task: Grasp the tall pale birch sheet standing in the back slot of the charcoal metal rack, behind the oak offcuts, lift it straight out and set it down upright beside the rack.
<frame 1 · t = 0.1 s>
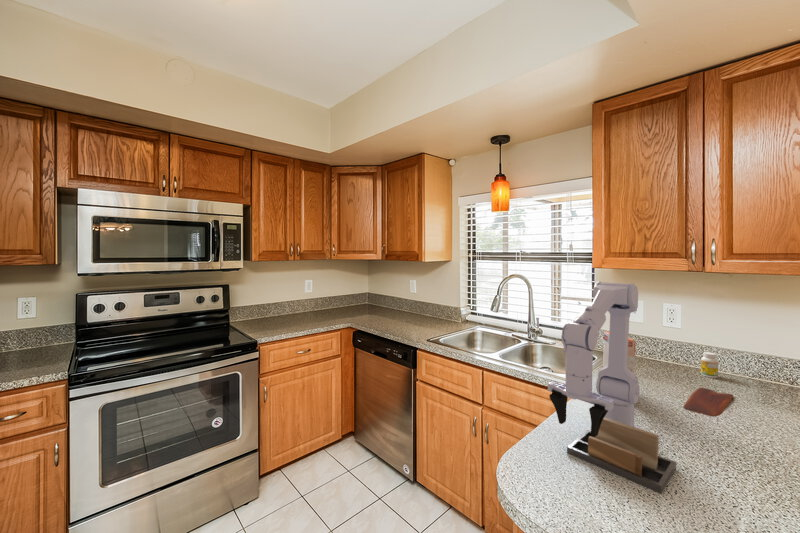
hand: (577, 428, 83), 10 cm above the worktop, tool pointing down, fingers open, 7 cm apart
oak offcuts: (614, 466, 84), point 1 cm above the worktop, touching rack
supplement bottle: (709, 376, 145), on the worktop
rack: (619, 462, 86), on the worktop
reddish brown cloth: (707, 403, 120), on the worktop
birch sheet: (623, 455, 88), point 1 cm above the worktop, touching rack
cracker box: (617, 390, 131), on the worktop
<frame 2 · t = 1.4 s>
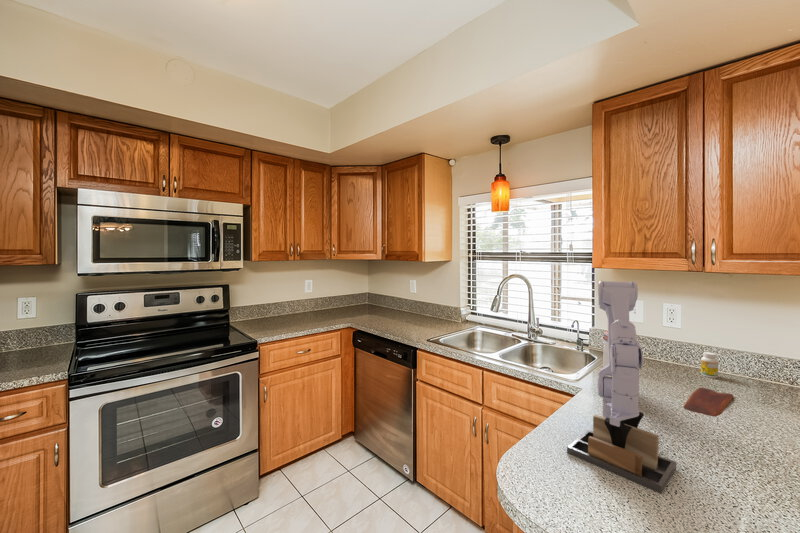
hand: (623, 444, 88), 4 cm above the worktop, tool pointing down, fingers open, 7 cm apart
nothing on the worktop moved.
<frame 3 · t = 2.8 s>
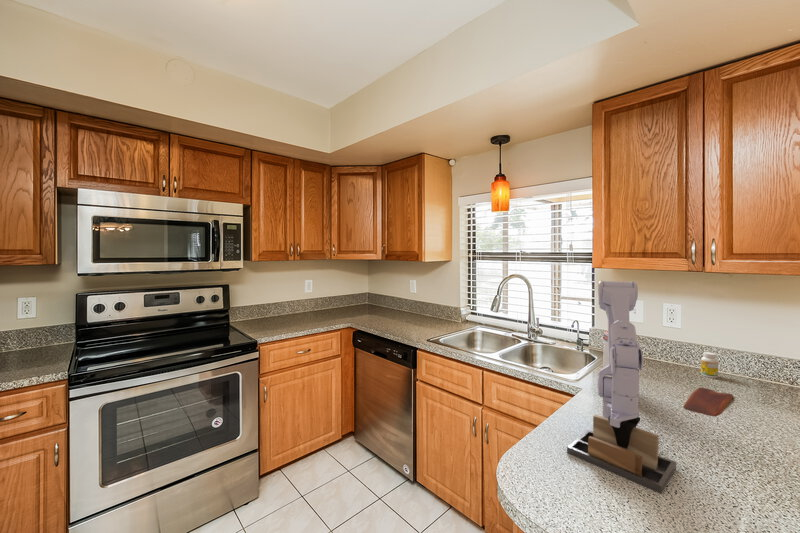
hand: (623, 445, 88), 3 cm above the worktop, tool pointing down, fingers closed on birch sheet, 1 cm apart
birch sheet: (623, 455, 88), point 1 cm above the worktop, touching gripper, rack
everything else where it was.
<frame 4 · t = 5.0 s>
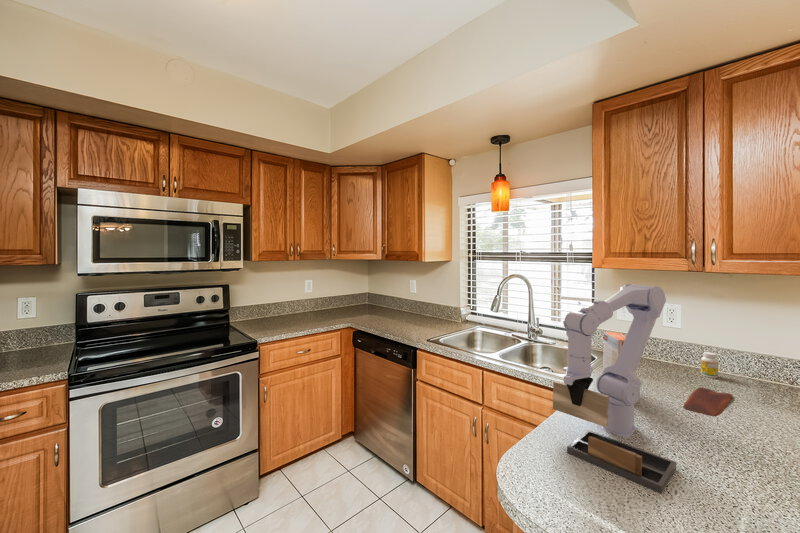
hand: (577, 403, 96), 10 cm above the worktop, tool pointing down, fingers closed on birch sheet
birch sheet: (578, 416, 96), point 7 cm above the worktop, touching gripper
everything else where it was.
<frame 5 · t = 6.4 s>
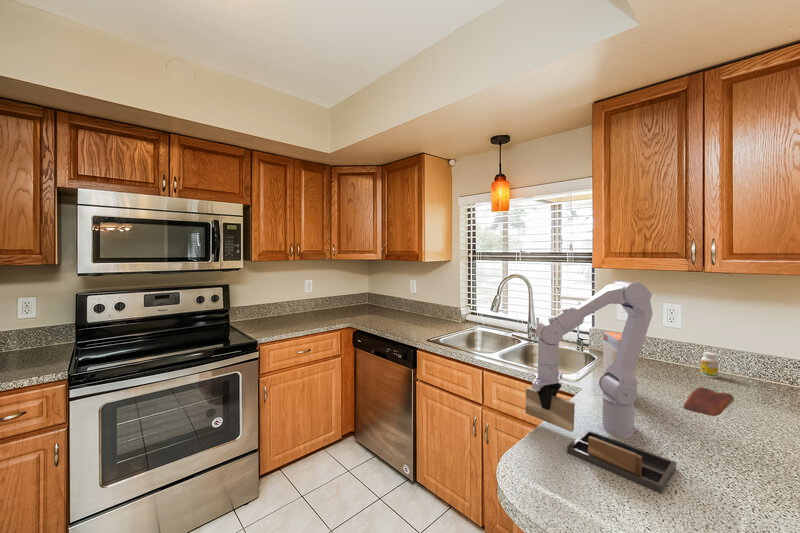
hand: (547, 407, 103), 6 cm above the worktop, tool pointing down, fingers closed on birch sheet, 1 cm apart
birch sheet: (548, 421, 103), point 2 cm above the worktop, touching gripper
everything else where it was.
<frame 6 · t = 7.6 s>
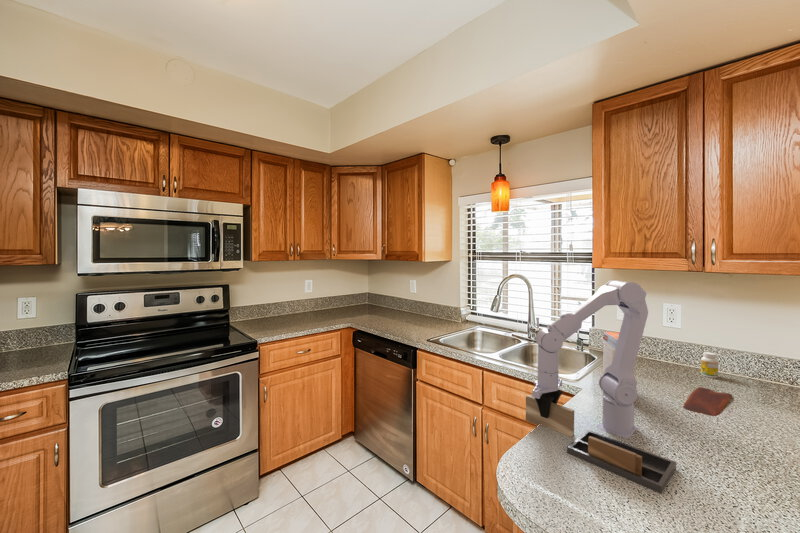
hand: (547, 415, 103), 4 cm above the worktop, tool pointing down, fingers open, 3 cm apart
birch sheet: (548, 428, 103), on the worktop
everything else where it was.
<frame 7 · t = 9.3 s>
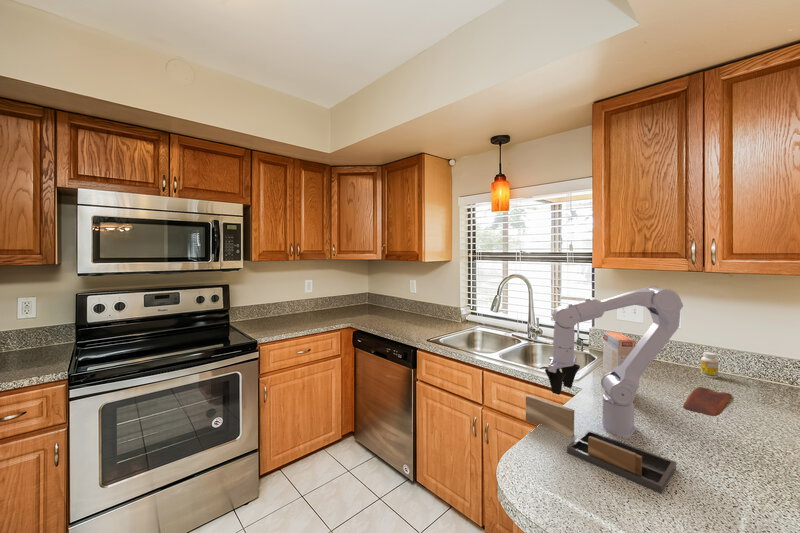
hand: (562, 390, 105), 10 cm above the worktop, tool pointing down, fingers open, 7 cm apart
nothing on the worktop moved.
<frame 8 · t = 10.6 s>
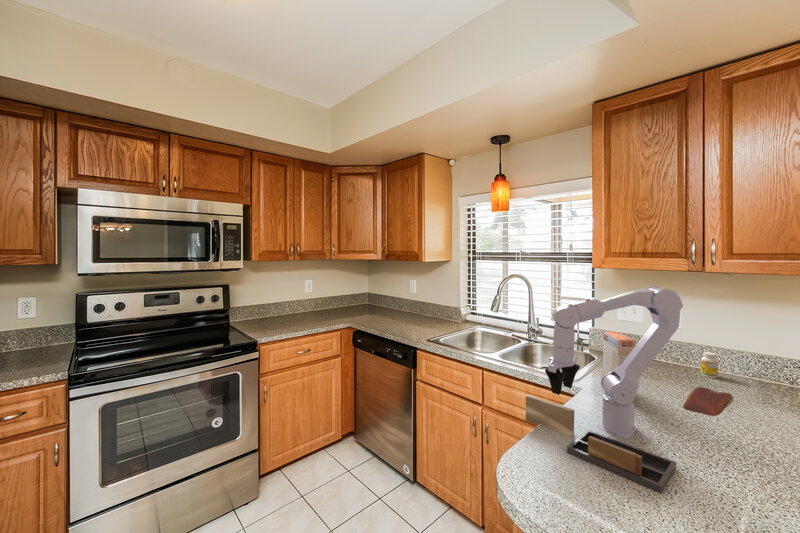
hand: (562, 390, 105), 10 cm above the worktop, tool pointing down, fingers open, 7 cm apart
nothing on the worktop moved.
at the end: birch sheet inside the target area (0.5 cm from its centre), on the worktop; birch sheet touching worktop; oak offcuts moved 0.0 cm from its start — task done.
